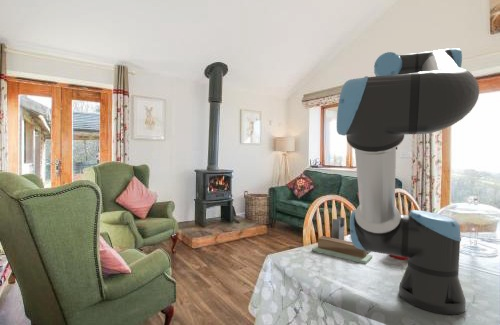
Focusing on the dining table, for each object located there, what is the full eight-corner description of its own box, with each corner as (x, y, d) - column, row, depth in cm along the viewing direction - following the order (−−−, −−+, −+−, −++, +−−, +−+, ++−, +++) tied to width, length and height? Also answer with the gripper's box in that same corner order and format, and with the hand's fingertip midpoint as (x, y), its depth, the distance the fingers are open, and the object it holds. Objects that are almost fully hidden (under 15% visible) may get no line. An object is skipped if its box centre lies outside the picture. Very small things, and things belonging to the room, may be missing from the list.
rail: (363, 258, 105) (364, 247, 105) (317, 247, 116) (318, 237, 116) (366, 255, 108) (367, 245, 108) (321, 245, 119) (322, 235, 119)
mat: (366, 264, 102) (366, 261, 102) (311, 250, 115) (312, 248, 115) (372, 258, 109) (372, 255, 109) (320, 246, 122) (320, 243, 122)
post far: (340, 247, 120) (341, 220, 119) (329, 245, 123) (330, 218, 122) (346, 244, 125) (347, 218, 125) (335, 241, 128) (336, 216, 128)
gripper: (392, 98, 86) (389, 169, 86) (406, 110, 105) (404, 167, 106) (366, 100, 90) (363, 167, 91) (384, 111, 110) (382, 166, 111)
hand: (385, 167), depth 98 cm, fingers open, 13 cm apart
